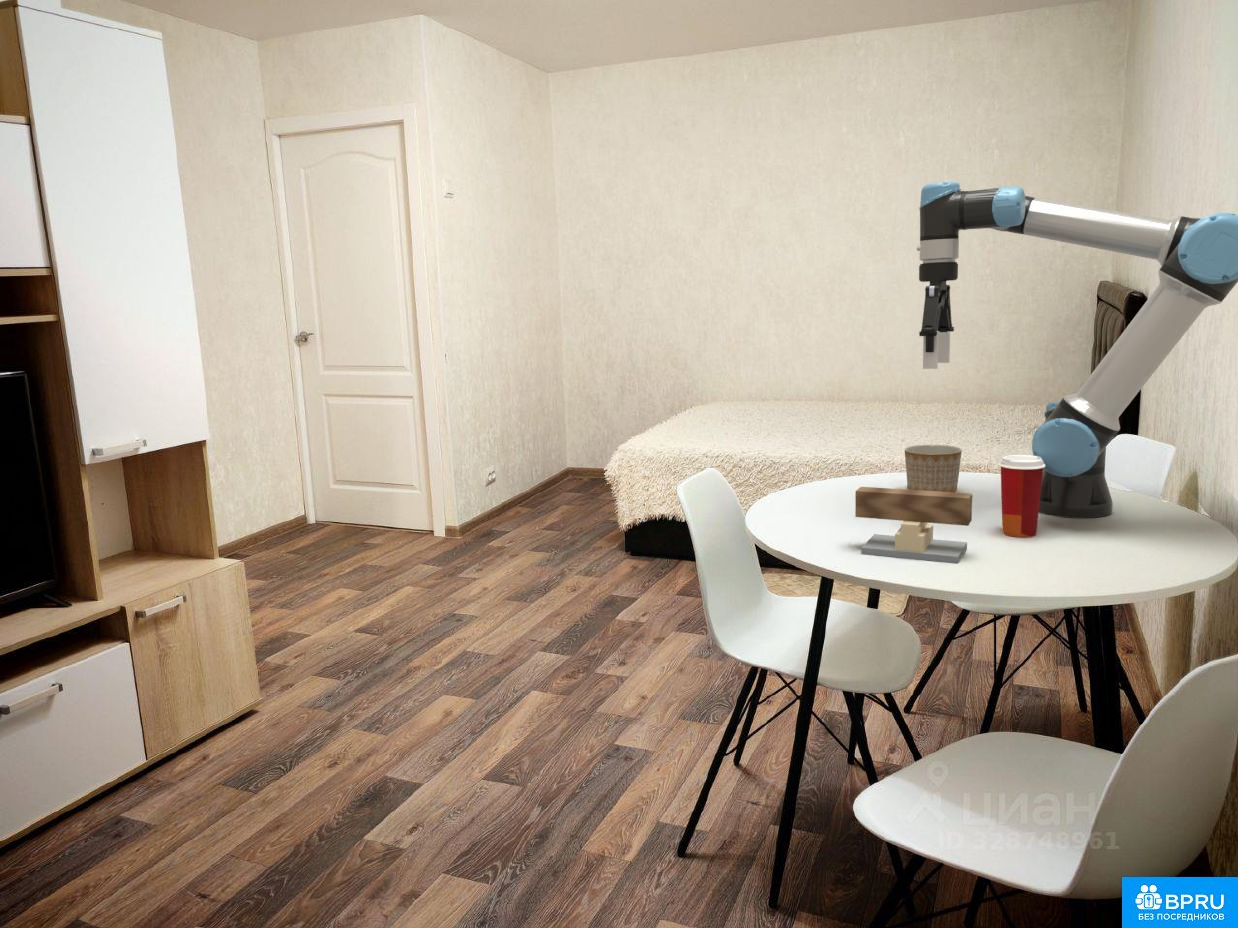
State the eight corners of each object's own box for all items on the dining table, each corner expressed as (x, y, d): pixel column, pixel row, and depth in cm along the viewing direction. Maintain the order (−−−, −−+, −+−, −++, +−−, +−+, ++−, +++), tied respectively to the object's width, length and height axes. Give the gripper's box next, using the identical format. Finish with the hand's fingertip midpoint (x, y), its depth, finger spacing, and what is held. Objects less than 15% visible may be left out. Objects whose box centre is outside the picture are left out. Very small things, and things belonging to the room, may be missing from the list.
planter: (921, 484, 222) (921, 443, 220) (970, 491, 212) (971, 447, 211) (893, 494, 213) (894, 450, 211) (943, 501, 204) (944, 456, 202)
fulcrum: (966, 548, 167) (967, 516, 166) (957, 563, 159) (958, 529, 158) (874, 539, 176) (874, 509, 175) (861, 553, 167) (861, 521, 166)
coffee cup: (1040, 528, 178) (1043, 454, 175) (1044, 540, 171) (1048, 462, 168) (994, 527, 181) (996, 453, 178) (996, 537, 173) (999, 461, 171)
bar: (971, 520, 163) (972, 493, 162) (968, 525, 160) (968, 498, 159) (860, 512, 173) (860, 486, 172) (855, 516, 169) (855, 491, 168)
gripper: (931, 263, 197) (929, 360, 201) (906, 262, 175) (905, 371, 179) (967, 261, 193) (965, 360, 197) (947, 260, 172) (944, 371, 176)
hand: (936, 365), depth 188 cm, fingers open, 13 cm apart
